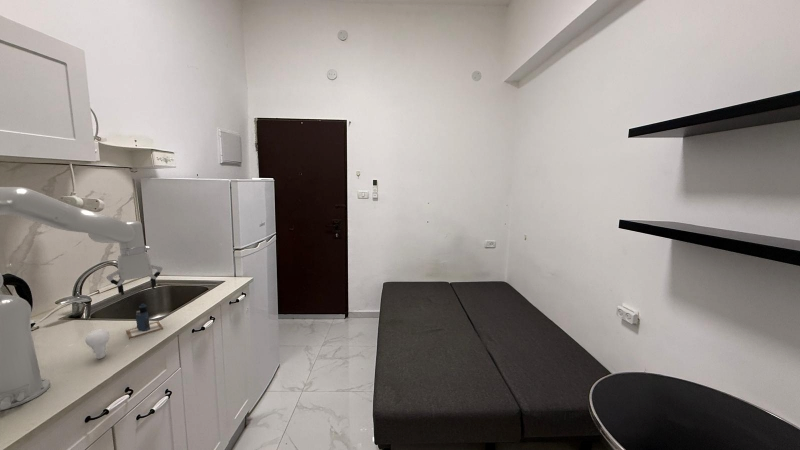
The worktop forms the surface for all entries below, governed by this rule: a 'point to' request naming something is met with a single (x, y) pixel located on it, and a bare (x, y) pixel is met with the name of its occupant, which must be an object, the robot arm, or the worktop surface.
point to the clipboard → (135, 332)
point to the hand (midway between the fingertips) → (138, 291)
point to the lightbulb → (98, 342)
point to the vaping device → (142, 318)
